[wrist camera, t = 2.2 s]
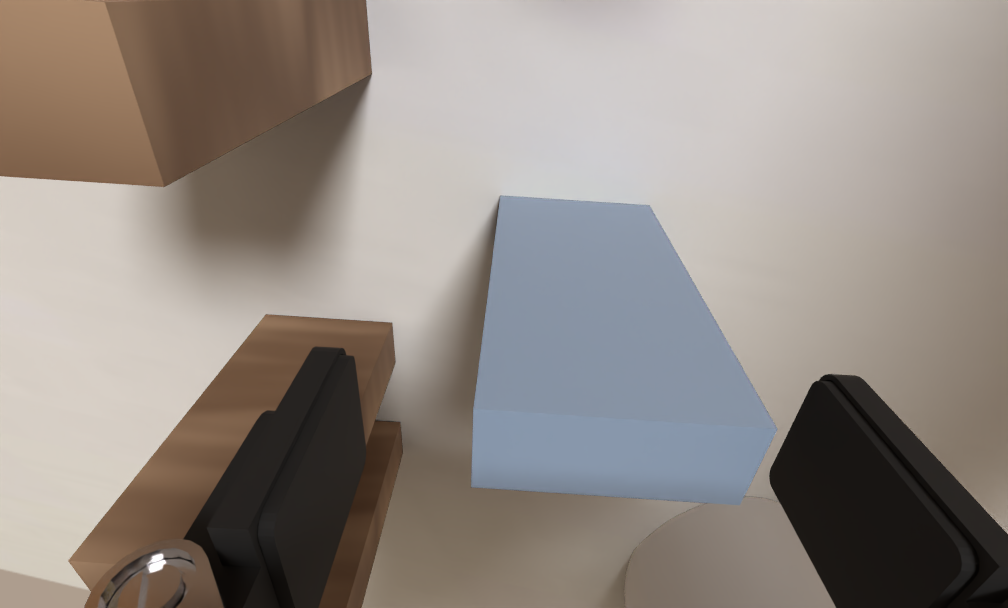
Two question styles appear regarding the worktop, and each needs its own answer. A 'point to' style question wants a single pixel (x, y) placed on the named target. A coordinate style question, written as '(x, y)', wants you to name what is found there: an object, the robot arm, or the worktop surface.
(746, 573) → the lumpy-topped squat cylinder
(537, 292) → the blue domino
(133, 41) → the domino
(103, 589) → the robot arm
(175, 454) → the domino
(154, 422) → the worktop surface
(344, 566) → the domino
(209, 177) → the worktop surface
